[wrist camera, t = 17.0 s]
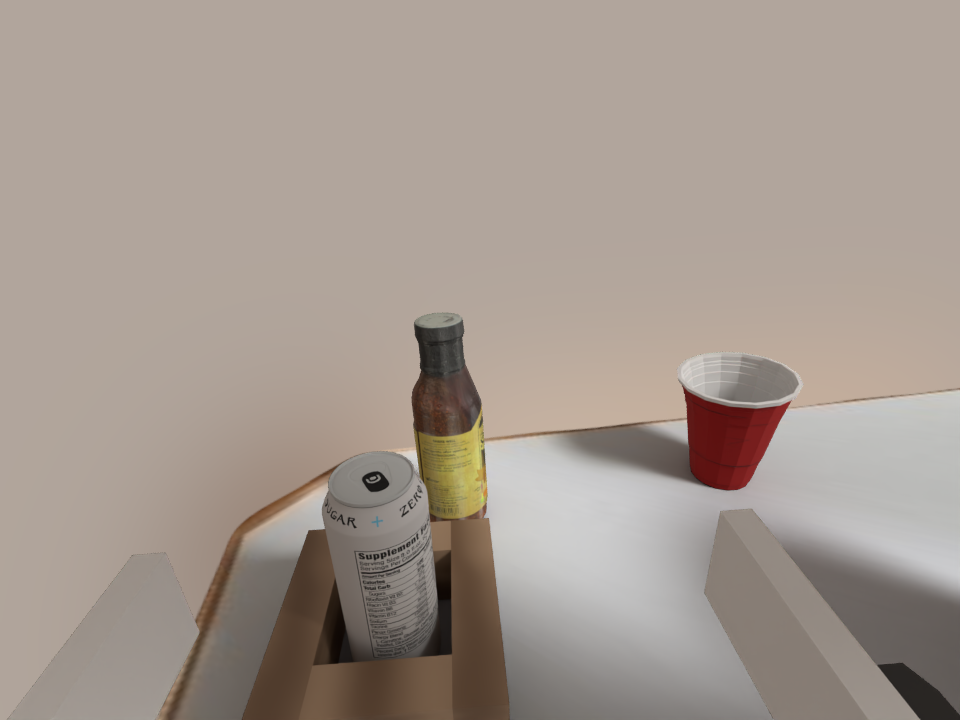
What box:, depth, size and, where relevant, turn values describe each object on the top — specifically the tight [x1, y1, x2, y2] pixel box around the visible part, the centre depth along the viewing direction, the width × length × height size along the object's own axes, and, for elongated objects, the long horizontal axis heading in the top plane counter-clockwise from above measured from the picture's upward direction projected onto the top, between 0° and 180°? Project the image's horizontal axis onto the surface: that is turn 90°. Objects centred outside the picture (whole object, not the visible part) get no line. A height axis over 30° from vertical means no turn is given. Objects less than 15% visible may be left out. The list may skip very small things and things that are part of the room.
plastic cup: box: [677, 352, 803, 490], centre depth 50 cm, size 11×11×12 cm
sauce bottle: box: [412, 313, 488, 522], centre depth 44 cm, size 6×6×20 cm
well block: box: [242, 518, 510, 720], centre depth 33 cm, size 14×14×6 cm
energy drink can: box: [322, 451, 441, 662], centre depth 31 cm, size 6×6×15 cm
